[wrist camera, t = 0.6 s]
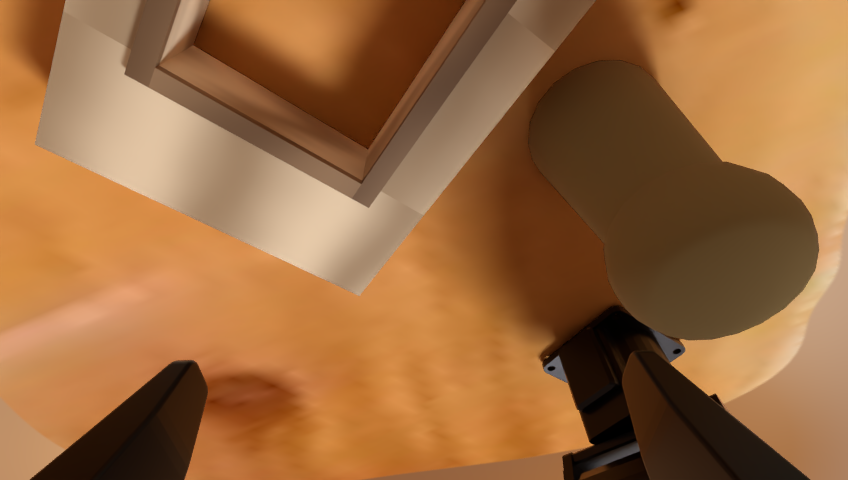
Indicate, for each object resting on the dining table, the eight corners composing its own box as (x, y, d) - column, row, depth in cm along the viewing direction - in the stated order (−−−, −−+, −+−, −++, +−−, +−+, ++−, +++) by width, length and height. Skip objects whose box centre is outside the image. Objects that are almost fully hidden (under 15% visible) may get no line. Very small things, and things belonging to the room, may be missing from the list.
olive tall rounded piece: (615, 26, 18) (815, 136, 9) (690, 125, 21) (905, 288, 12) (500, 133, 21) (569, 302, 12) (579, 210, 23) (686, 398, 14)
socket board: (645, -112, 16) (694, -117, 13) (364, 257, 24) (358, 299, 22) (254, -535, 11) (201, -685, 8) (81, 115, 20) (29, 147, 17)
